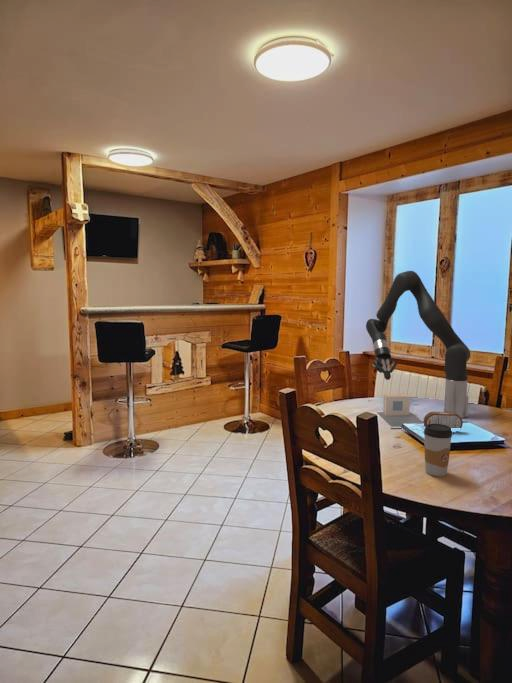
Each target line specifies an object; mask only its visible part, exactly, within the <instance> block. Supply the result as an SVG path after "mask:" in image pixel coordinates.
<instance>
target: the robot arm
mask: <svg viewBox="0 0 512 683" xmlns="http://www.w3.org/2000/svg"><path fill="white" fill-rule="evenodd" d="M405 292H410V293H411V294H412V296H413V297H414V299H415V300H416V304H417V310H418V316H419V317H420V319H421V320H422V322H423V323H424V326H425V327H427V329H428V330H429V331H431V332H430V333H433V334H434V335H435V336H436V337H437V338H438V339H439V340H440V341H441V343H443V345H444V347H445V349H446V351H445V355H444V374H445V385H444V386H445V387H444V388H445V389H444V403H443V404H444V406H443V407H444V408H443V412H454V413H457V414H458V415H459V416H460V417H461V419H463V418H468V417H469V416H468V415H469V414H468V413H469V396H467V395H468V378H469V377H468V376H469V375H468V373H467V372H468V371H467V362H468V361H469V360H470V358H471V351H470V349H469V347H468V346H467V344H465V343H464V341H463V340H462V339H461V338H460V337H459V335H458V334H457V333H456V331H455V330H454V328H453V327H452V325H451V324H450V322H449V320H448V319H447V318H446V316H445V314H444V313H443V311H442V310H441V309H440V308H439V305H437V303H436V302H435V300H434V298H433V297H432V296H431V295H430V293H429V292H428V290H427V288H426V287H425V285H424V283H423V281H422V279H421V278H420V276H419V275H418V273H417V272H415V271H413V270H407V271H403V272H400V273H398V274H396V276H395V277H394V279H393V282H392V284H391V287H390V289H389V291H388V293H387V296H386V297H385V298H384V301H383V303H382V304H381V306H380V307H379V309H378V311H377V312H376V314H375V315H376V319H374V318H370V319H368V320H367V321H366V323H365V329H366V331H367V333H368V335H369V337H370V339H371V342H372V345H373V353H374V357H375V361H373V362H372V364H371V366H372V367H373V368H374V369H375V370H376V371H377V372H378V373H380V374H383V377H384V379H385V381H390V379H391V378H392V377H391V376H392V375H391V373H393V372H394V371H395V369H396V368H397V366H398V361H394V360H393V358H392V356H391V351H390V347H389V346H390V345H389V343H388V341H387V336H386V334H385V332H386V330H387V327H388V324H389V320H390V319H391V317H392V316H393V315H394V313H395V311H396V309H397V306H398V301H399V299H400V297H402V295H403V294H404V293H405ZM391 366H392V367H391ZM390 367H391V368H390Z"/></svg>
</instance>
